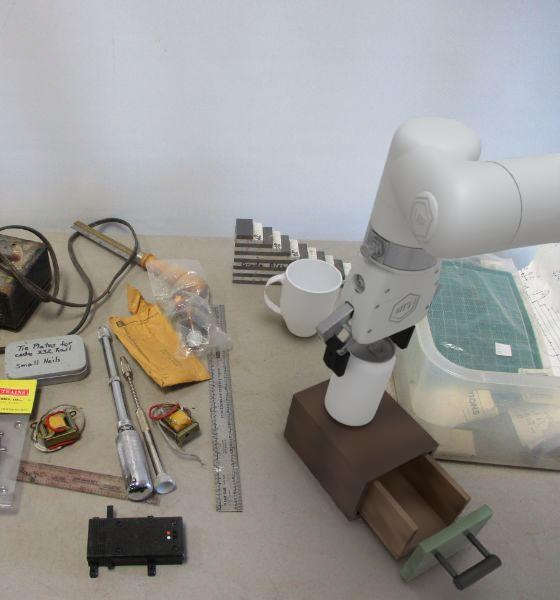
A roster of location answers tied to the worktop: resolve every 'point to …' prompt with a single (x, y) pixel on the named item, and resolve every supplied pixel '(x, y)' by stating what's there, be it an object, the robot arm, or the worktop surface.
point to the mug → (306, 294)
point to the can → (361, 382)
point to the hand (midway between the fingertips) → (364, 354)
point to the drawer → (426, 520)
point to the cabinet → (352, 445)
